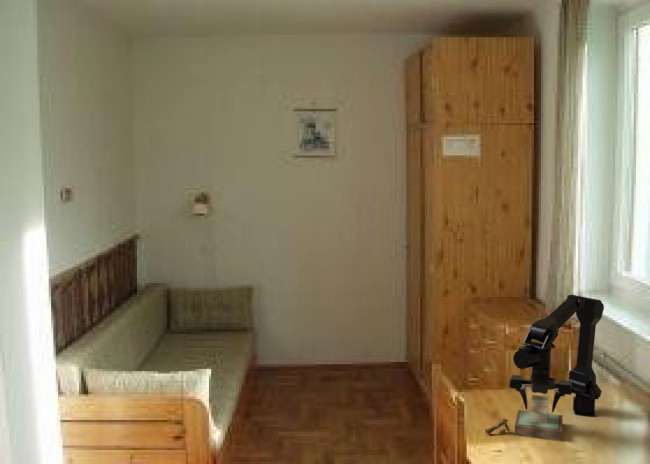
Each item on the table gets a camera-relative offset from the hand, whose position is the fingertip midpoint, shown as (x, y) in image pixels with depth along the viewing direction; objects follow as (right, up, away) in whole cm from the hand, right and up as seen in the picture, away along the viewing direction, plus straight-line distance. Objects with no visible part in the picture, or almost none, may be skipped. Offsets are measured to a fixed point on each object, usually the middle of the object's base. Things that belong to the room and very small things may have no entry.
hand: (539, 410), depth 219 cm
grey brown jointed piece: (-14, -7, -2) cm, 16 cm away
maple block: (0, -3, 0) cm, 3 cm away
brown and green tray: (0, -6, +1) cm, 6 cm away
